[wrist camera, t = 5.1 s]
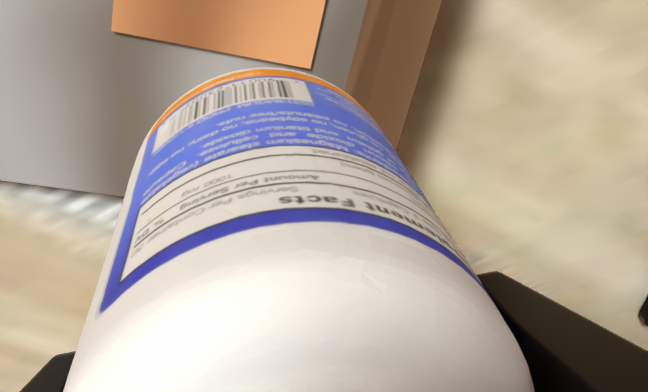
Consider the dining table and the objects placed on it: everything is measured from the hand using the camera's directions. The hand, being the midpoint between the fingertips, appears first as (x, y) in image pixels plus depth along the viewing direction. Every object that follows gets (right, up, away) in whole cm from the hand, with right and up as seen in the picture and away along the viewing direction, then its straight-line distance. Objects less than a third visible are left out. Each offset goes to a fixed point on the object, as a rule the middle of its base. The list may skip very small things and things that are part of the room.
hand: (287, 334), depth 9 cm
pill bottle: (-1, +2, +4) cm, 5 cm away
